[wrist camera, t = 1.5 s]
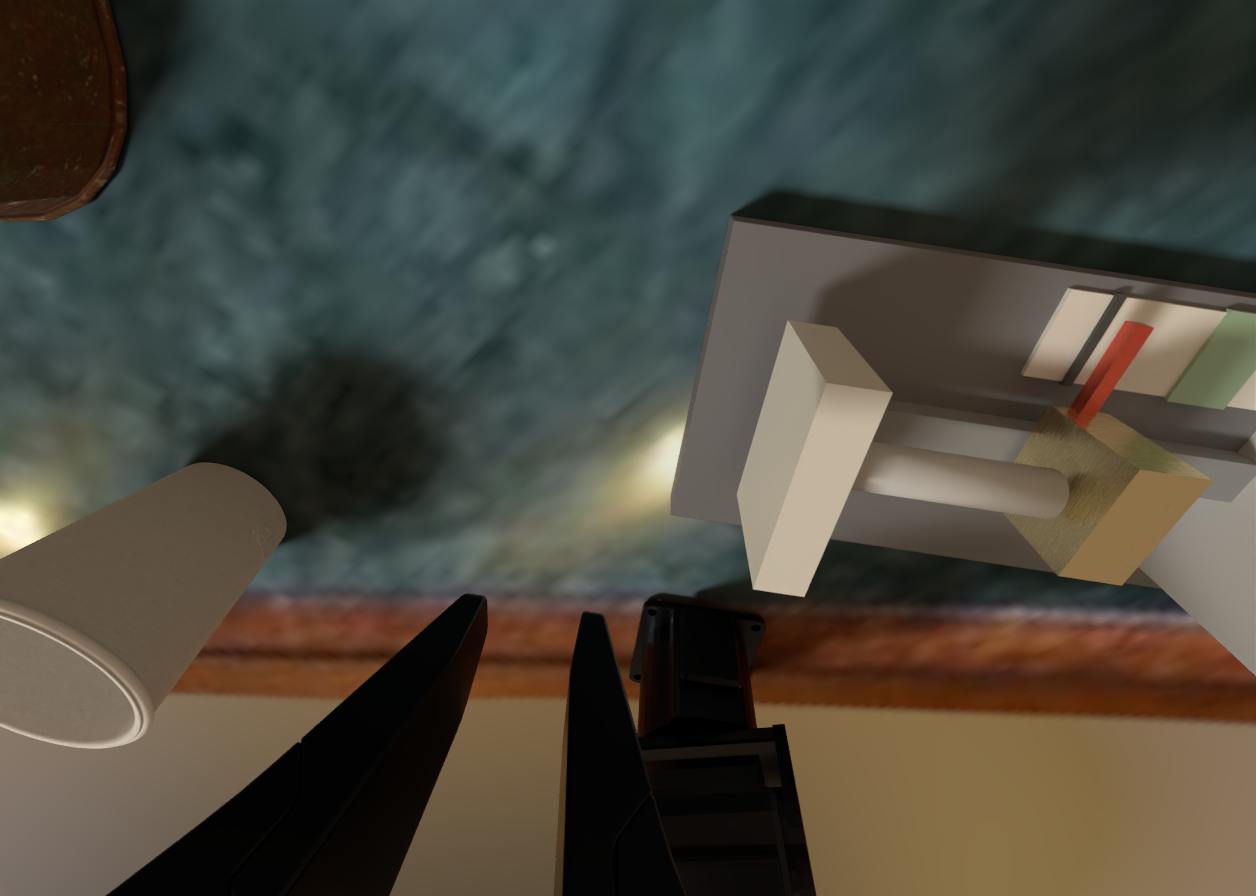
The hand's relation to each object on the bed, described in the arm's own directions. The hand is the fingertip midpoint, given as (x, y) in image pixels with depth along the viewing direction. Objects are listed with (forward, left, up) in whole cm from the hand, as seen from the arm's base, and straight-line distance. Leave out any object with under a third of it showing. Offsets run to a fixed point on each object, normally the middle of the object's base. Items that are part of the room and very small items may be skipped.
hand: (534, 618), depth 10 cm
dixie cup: (-11, +18, -13) cm, 25 cm away
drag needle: (+1, -16, -10) cm, 19 cm away
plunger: (0, -10, -10) cm, 14 cm away
